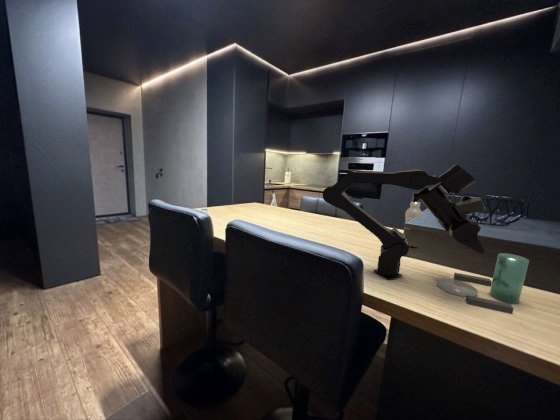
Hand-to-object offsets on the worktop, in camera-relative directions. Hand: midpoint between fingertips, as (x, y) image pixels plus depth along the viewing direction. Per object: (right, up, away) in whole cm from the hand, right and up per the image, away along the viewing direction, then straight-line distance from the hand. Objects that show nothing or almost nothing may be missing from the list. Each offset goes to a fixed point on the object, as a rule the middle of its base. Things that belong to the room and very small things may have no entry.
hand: (476, 247), depth 67 cm
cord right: (-2, -15, -5) cm, 16 cm away
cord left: (+5, -12, +8) cm, 15 cm away
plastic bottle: (+3, -6, +40) cm, 40 cm away
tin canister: (+6, -14, -1) cm, 15 cm away
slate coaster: (-3, -13, +3) cm, 14 cm away
